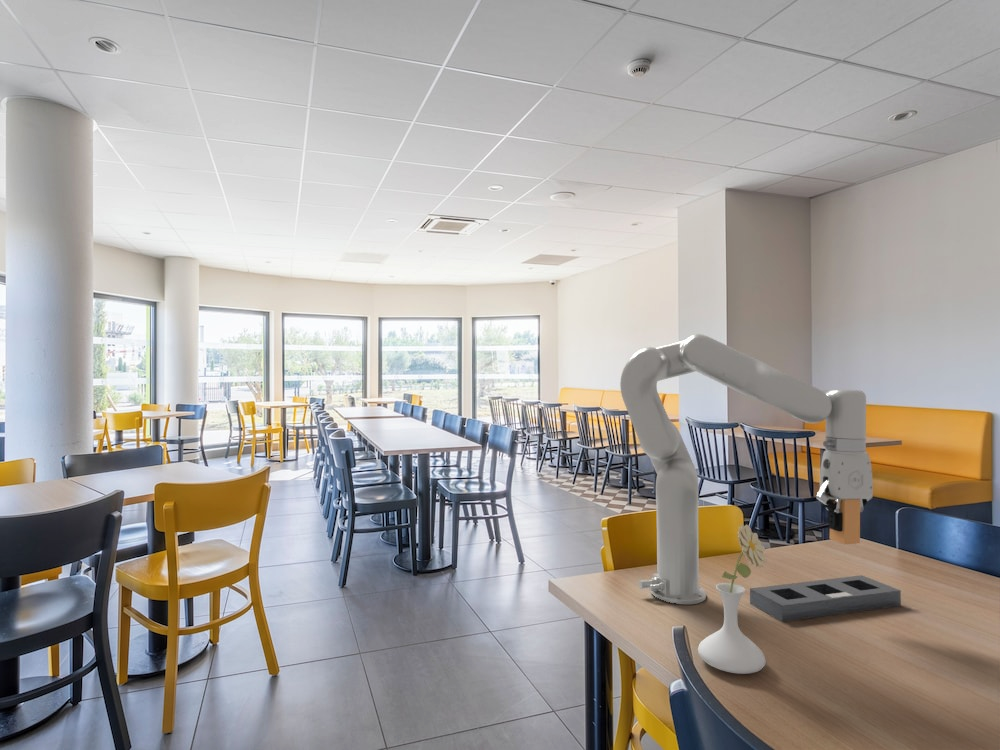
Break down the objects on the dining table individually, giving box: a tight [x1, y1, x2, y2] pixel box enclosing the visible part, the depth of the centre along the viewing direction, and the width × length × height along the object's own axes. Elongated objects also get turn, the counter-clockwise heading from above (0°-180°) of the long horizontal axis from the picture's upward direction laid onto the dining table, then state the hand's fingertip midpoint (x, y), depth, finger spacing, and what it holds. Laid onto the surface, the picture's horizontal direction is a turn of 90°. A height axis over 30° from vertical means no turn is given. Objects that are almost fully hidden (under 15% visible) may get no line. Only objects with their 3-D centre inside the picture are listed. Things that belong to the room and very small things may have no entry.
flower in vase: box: [697, 523, 768, 675], centre depth 101 cm, size 13×11×25 cm
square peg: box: [829, 496, 861, 545], centre depth 122 cm, size 4×4×10 cm
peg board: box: [749, 574, 902, 623], centre depth 127 cm, size 32×10×4 cm, turn 105°
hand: (844, 528), depth 122 cm, fingers closed on square peg, 4 cm apart
